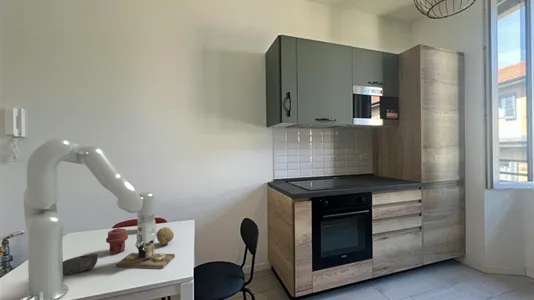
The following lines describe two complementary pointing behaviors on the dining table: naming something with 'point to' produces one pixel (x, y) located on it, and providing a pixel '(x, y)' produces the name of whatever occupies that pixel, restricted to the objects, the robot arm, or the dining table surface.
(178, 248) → the dining table surface
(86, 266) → the perforated stone tool
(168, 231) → the natural sponge
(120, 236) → the mechanical component
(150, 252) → the birch gear
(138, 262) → the gear board
